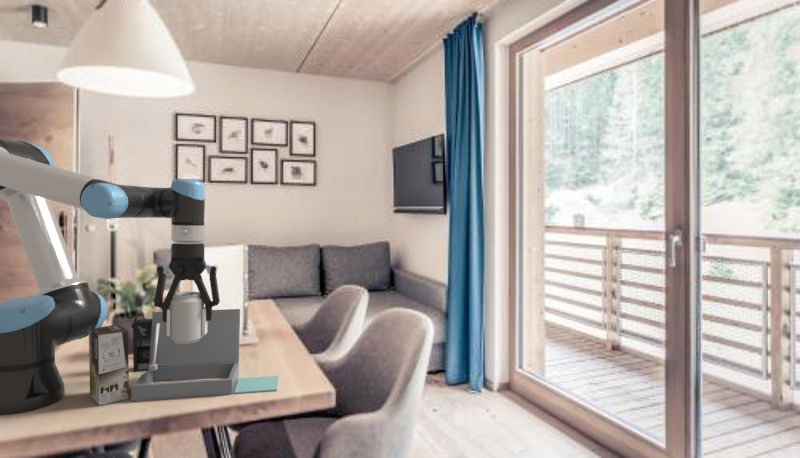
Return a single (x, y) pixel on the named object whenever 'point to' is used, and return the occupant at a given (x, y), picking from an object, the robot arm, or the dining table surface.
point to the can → (186, 317)
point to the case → (192, 360)
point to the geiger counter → (141, 343)
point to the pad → (256, 384)
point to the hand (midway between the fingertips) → (187, 333)
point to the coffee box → (108, 364)
